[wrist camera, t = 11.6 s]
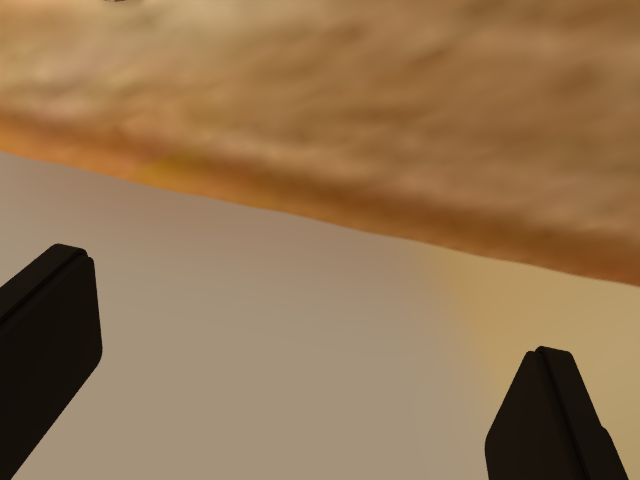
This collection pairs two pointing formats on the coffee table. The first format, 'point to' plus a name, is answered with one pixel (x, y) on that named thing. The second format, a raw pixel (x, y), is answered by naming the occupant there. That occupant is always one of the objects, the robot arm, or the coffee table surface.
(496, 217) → the coffee table surface
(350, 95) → the coffee table surface
